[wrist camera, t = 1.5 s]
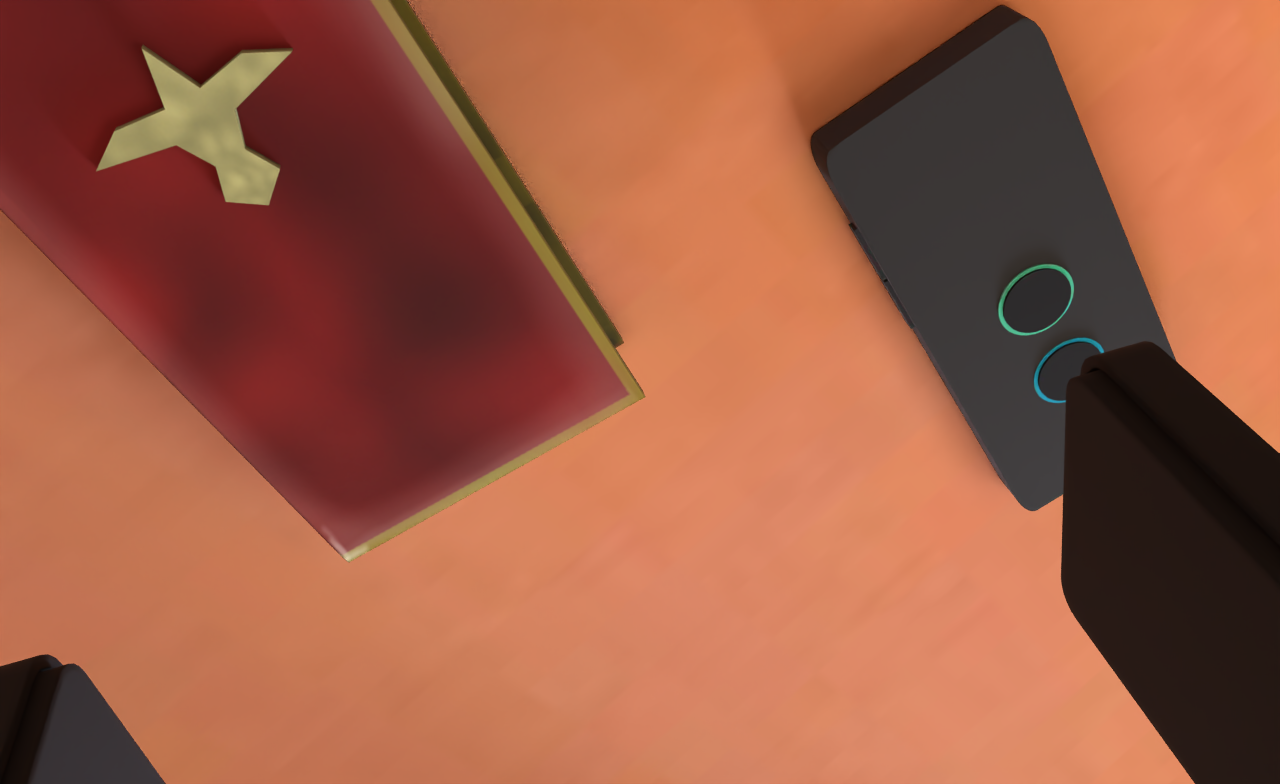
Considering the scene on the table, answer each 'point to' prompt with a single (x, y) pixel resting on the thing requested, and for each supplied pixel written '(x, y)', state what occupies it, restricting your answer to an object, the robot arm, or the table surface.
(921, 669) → the table surface
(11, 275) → the table surface
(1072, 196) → the smart home device
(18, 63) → the hardcover book
